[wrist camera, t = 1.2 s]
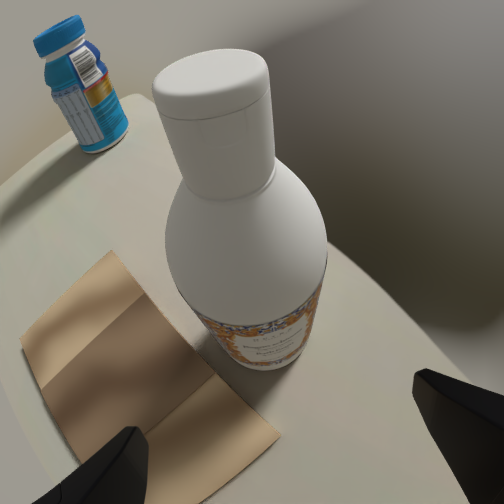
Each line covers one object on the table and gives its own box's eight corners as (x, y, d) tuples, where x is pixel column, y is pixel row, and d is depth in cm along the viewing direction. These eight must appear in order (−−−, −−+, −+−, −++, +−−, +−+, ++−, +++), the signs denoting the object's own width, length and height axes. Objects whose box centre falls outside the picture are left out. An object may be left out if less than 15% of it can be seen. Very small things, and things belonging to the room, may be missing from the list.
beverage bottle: (80, 164, 38) (18, 50, 21) (83, 135, 42) (35, 35, 25) (132, 140, 39) (81, 15, 22) (129, 113, 43) (88, 7, 26)
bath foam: (232, 382, 21) (47, 212, 4) (212, 301, 25) (97, 67, 8) (322, 356, 22) (418, 115, 5) (294, 277, 25) (291, 18, 8)
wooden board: (281, 434, 19) (280, 435, 18) (150, 534, 15) (143, 538, 14) (117, 256, 28) (110, 248, 27) (26, 342, 24) (18, 338, 23)
